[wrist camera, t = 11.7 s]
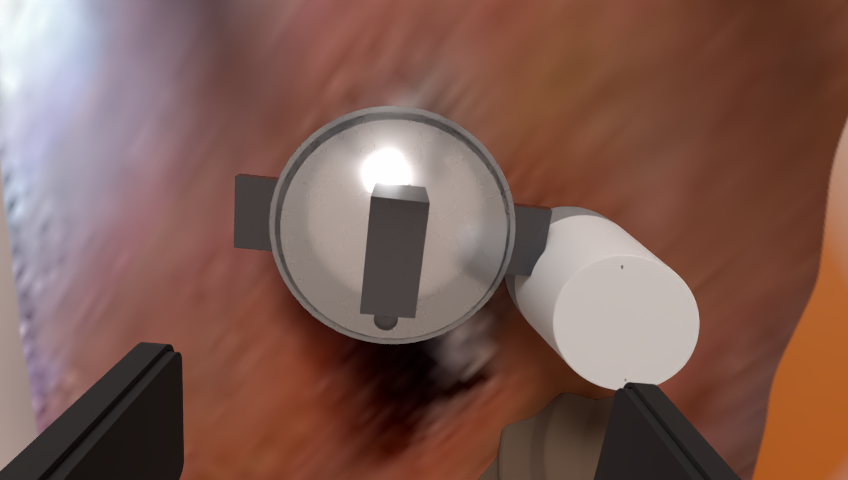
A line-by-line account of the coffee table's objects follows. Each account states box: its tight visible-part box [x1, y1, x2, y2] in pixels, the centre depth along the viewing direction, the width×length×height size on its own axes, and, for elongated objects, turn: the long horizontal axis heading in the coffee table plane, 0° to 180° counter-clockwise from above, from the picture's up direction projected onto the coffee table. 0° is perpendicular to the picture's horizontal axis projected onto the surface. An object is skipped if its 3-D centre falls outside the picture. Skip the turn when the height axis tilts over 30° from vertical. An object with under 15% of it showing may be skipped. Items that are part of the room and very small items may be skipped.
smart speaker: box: [504, 207, 699, 390], centre depth 33 cm, size 10×9×14 cm
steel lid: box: [280, 119, 507, 339], centre depth 27 cm, size 13×13×6 cm
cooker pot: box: [234, 106, 553, 344], centre depth 34 cm, size 19×15×9 cm
